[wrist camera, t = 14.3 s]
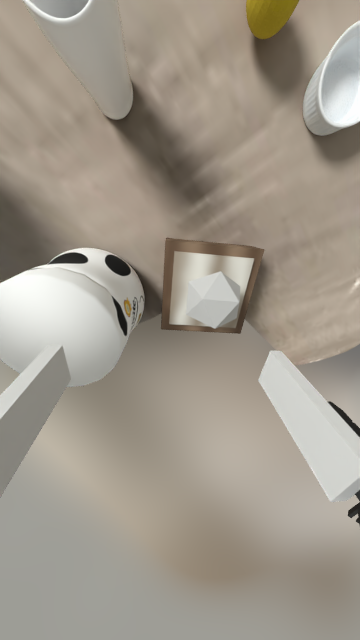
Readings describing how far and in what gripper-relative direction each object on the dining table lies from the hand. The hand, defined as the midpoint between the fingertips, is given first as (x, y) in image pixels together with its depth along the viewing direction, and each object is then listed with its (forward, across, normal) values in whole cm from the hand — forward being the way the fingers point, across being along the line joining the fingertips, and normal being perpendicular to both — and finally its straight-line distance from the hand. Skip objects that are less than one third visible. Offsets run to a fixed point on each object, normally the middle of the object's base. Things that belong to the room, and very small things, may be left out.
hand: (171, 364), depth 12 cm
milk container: (+27, -12, -5) cm, 31 cm away
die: (+21, +7, -2) cm, 22 cm away
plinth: (+27, +8, -2) cm, 28 cm away
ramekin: (+27, +22, +26) cm, 43 cm away
